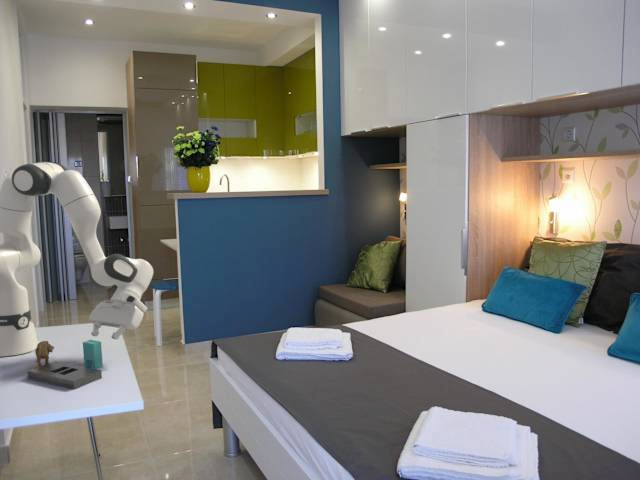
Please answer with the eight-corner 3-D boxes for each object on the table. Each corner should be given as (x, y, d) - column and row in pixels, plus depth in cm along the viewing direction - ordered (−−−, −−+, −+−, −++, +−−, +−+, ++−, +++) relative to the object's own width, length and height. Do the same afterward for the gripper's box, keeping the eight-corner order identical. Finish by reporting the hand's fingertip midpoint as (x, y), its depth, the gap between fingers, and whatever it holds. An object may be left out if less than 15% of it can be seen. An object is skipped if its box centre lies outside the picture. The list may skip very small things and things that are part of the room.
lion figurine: (56, 367, 184) (54, 340, 183) (38, 371, 181) (36, 344, 180) (48, 356, 196) (46, 331, 195) (31, 359, 193) (29, 334, 192)
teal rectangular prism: (84, 367, 184) (82, 342, 183) (92, 364, 186) (90, 339, 185) (95, 369, 181) (93, 344, 180) (102, 366, 184) (101, 341, 183)
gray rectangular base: (28, 378, 174) (27, 370, 174) (56, 368, 183) (55, 361, 183) (74, 389, 165) (73, 381, 165) (101, 377, 174) (101, 370, 173)
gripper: (97, 294, 197) (76, 329, 189) (140, 299, 188) (120, 335, 180) (108, 304, 201) (87, 338, 194) (151, 309, 192) (131, 345, 185)
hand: (103, 337), depth 187 cm, fingers open, 8 cm apart
